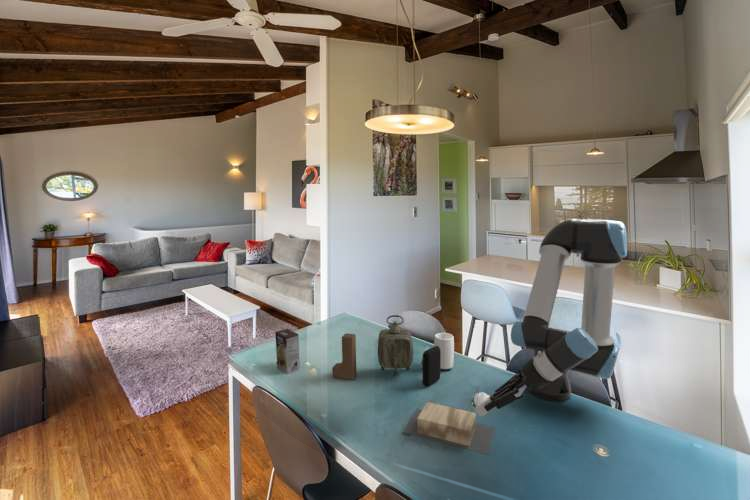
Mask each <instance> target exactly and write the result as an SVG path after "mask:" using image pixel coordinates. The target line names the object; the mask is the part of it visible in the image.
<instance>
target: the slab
mask: <svg viewBox="0 0 750 500" xmlns="http://www.w3.org/2000/svg"><path fill="white" fill-rule="evenodd" d="M421 410H422V411H421V413H420V415H419V416H418V421H417V433H420V434H424V435H428V436H432V437H436V438H440V439H443V440H447V441H451V442H455V443H459V444H462V445H466V446H470V443H471V440H472V437H473V434H474V431H475V428H476V423H477V412H472V411H468V410H464V409H459V408H455V407H450V406H445V405H442V404H437V403H433V402H428V401H426V403H425V405H424V406H423V408H422V409H421Z"/></svg>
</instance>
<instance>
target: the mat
mask: <svg viewBox="0 0 750 500" xmlns="http://www.w3.org/2000/svg"><path fill="white" fill-rule="evenodd" d="M422 410H423V409H420V408H416V409H415V411H414V413H413V414H412V415H411V418H410V419H409V421H408V423H407V424H406V426H405V428H403V430H402V435H405V436H416V437H419V438H424V439H428V440H430V441H435V442H438V443H442V444H446V445H450V446H454V447H457V448H461V449H465V450H468V451H472V452H476V453H479V454H483V455H487V456H488V455H489V453H490V449H491V445H492V442H493V437H494V434H495V429H496V426H492V425H486V424H483V423H479V422H476V428H475V431H474V434H473V437H472V440H471V443H470V446H466V445H462V444H459V443H455V442H451V441H447V440H443V439H440V438H436V437H432V436H428V435H424V434H420V433H417V421H418V416H419V415H420V413H421V411H422Z"/></svg>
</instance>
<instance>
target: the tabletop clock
mask: <svg viewBox="0 0 750 500" xmlns="http://www.w3.org/2000/svg"><path fill="white" fill-rule="evenodd" d="M386 318H387V319H386V323H387V324H388V325H391V326H390V327H389V328H385V329H382V330H380V331H379V333H378V338H377V340H378V341H377V359H378V364H379V366H380V370H381V371H384V370H385V369H394V372H393V376H394V377H397V376H398V372H397V369H405V370H406V371H410V369H411V366H412V364H413V360H414V344H413V337H412V333H411V331H410V330H408V329H406V328H405V329H404V328H401V327H400V325H403V323H404V321H405V320H404V318H403V317H402V316H401V315H398V314H393V315H392V314H391V315H390V316H387V317H386ZM390 318H400V319H401V320H402V321H401V322H398V323H397V321H394V322H393V323H392V322H390V321H389V319H390Z"/></svg>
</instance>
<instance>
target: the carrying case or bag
mask: <svg viewBox="0 0 750 500" xmlns="http://www.w3.org/2000/svg"><path fill="white" fill-rule="evenodd" d="M440 357H441V352H440V348H439V347H438V346H434V345H433V347H431V348H428V349H426V350H424V352H423V353H422V358H421V365H422V384H423V386H424V387H427V388H428V387H429V386H430V385H433V384H434V383H436V382H438V381H439V380H440V379H441V369H440Z"/></svg>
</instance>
